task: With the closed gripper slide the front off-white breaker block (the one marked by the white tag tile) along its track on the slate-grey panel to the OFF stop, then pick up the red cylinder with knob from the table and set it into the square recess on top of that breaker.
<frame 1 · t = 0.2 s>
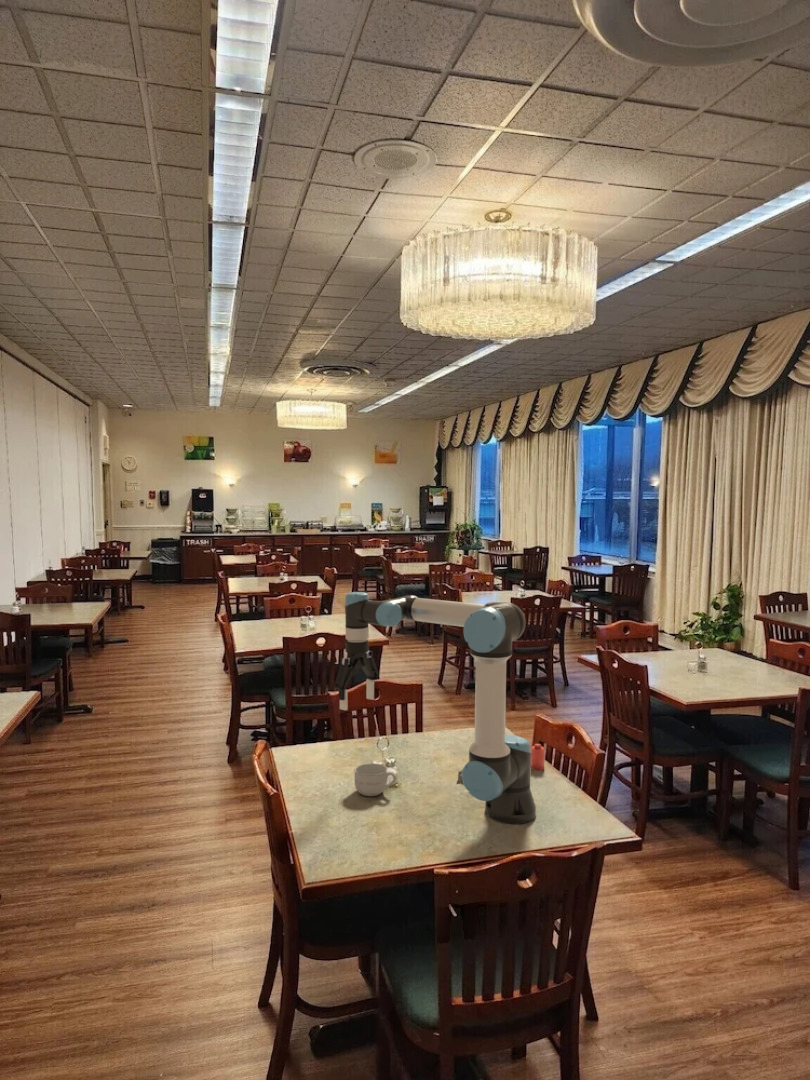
hand: (357, 704, 214), 28 cm above the table, fingers open, 13 cm apart
red cylinder with knob: (537, 767, 231), on the table
breaker 1: (505, 756, 227), point 5 cm above the table, slide at 0.0 cm
panel: (492, 775, 225), on the table
teacup: (375, 793, 211), on the table
breaker 2: (492, 766, 219), point 5 cm above the table, slide at 0.0 cm
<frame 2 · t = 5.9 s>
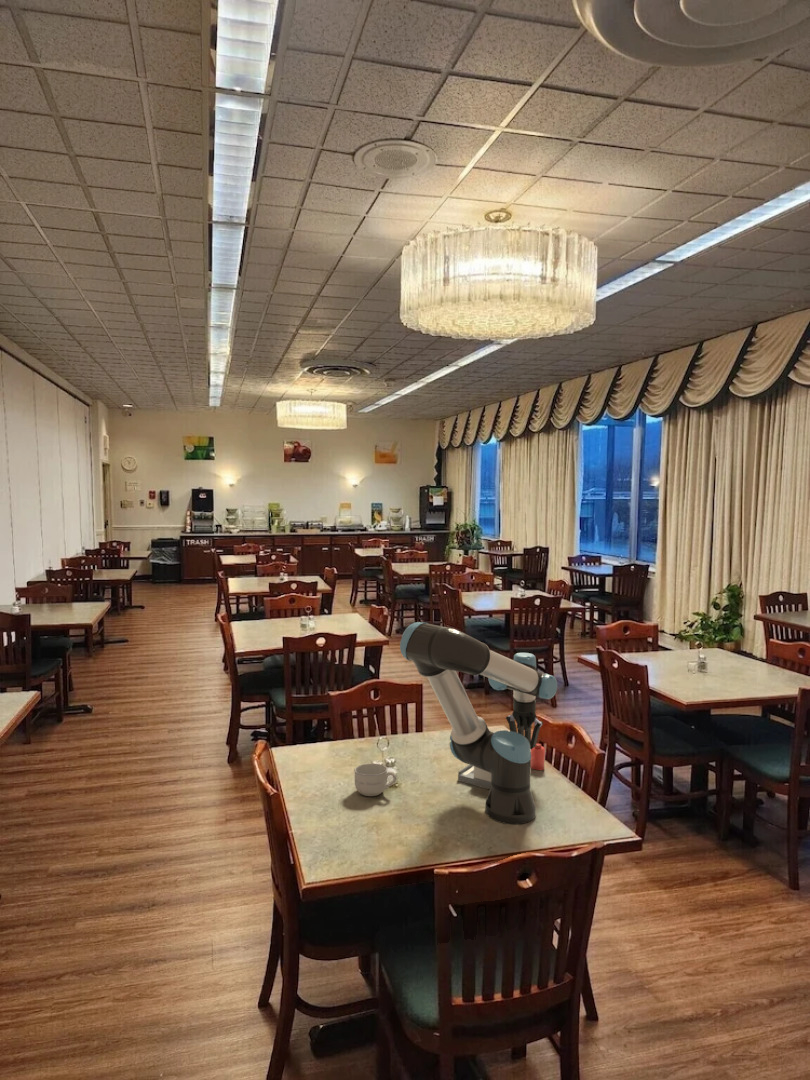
hand: (523, 766, 223), 3 cm above the table, fingers closed
breaker 1: (505, 756, 227), point 5 cm above the table, slide at 0.2 cm, touching gripper
everything else where it was.
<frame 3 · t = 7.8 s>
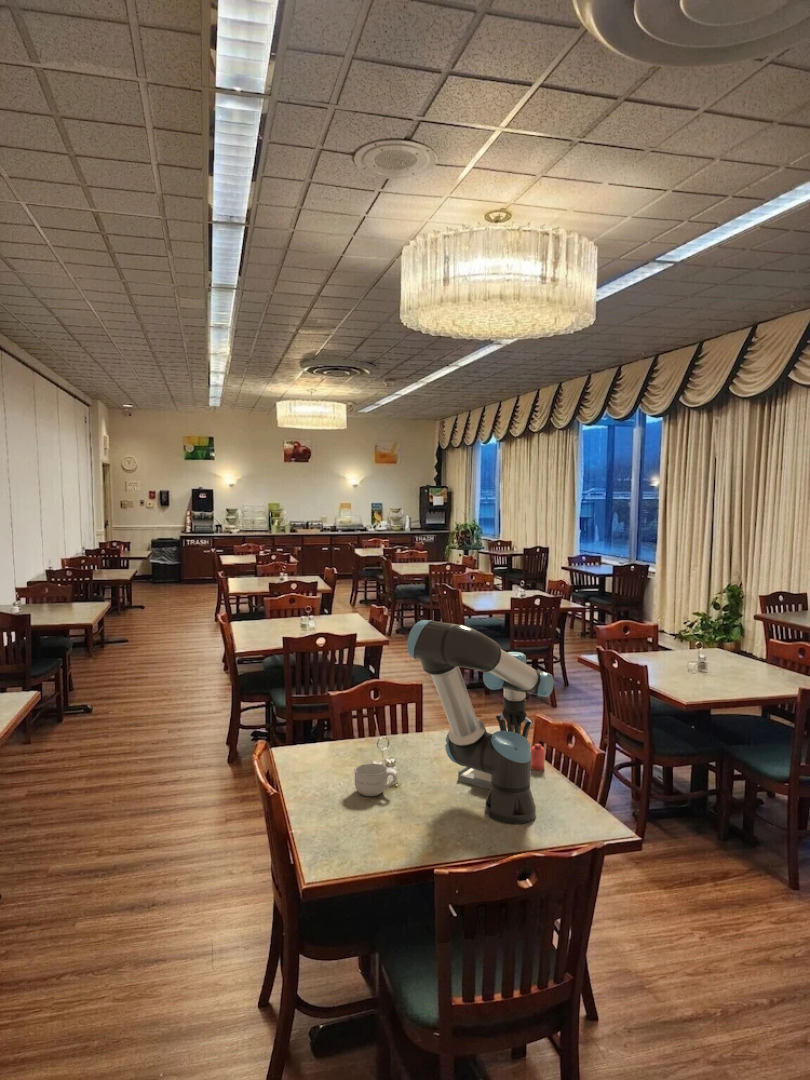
hand: (513, 765, 225), 3 cm above the table, fingers closed
breaker 1: (494, 754, 230), point 5 cm above the table, slide at 4.3 cm
everything else where it was.
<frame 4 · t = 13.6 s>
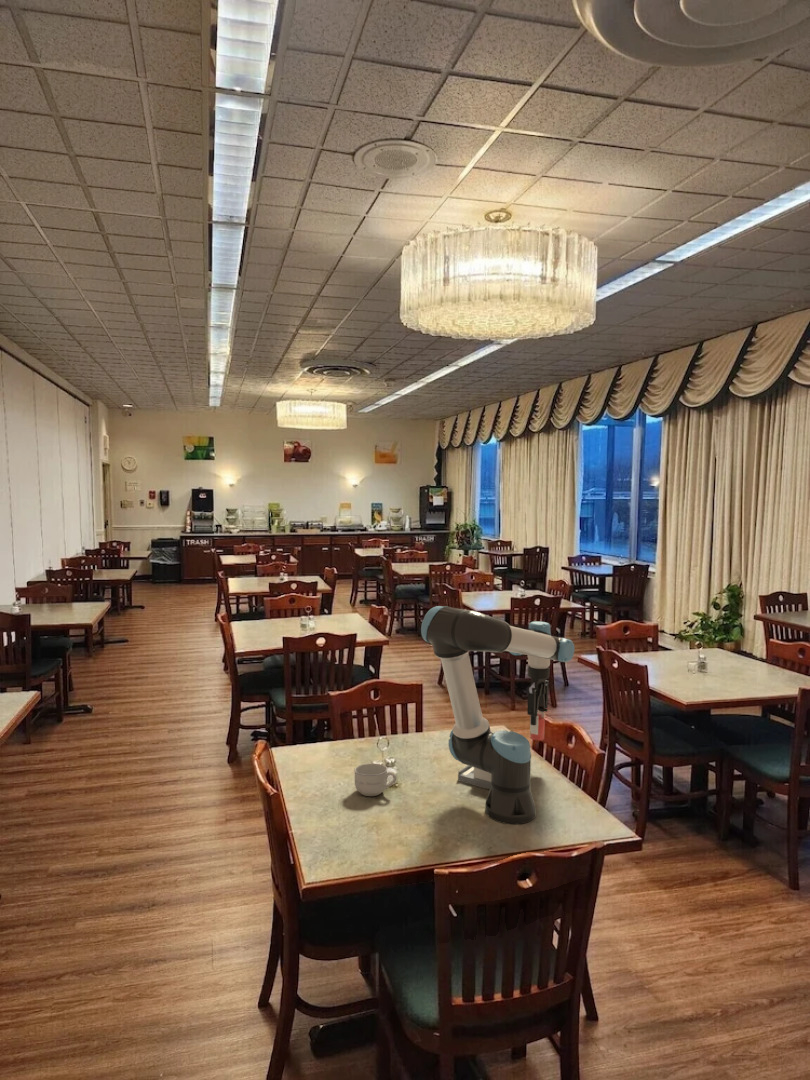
hand: (537, 731, 230), 13 cm above the table, fingers closed on red cylinder with knob, 5 cm apart
red cylinder with knob: (537, 738, 230), point 11 cm above the table, touching gripper
everything else where it was.
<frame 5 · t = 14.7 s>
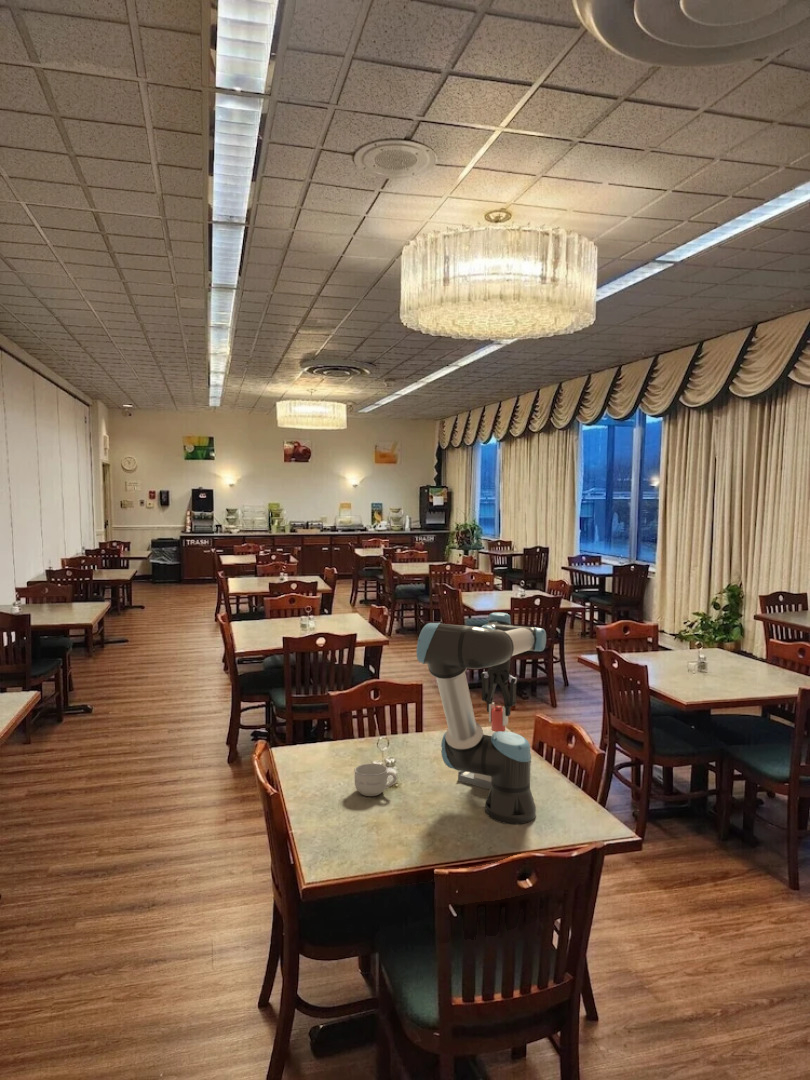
hand: (498, 722, 229), 17 cm above the table, fingers closed on red cylinder with knob, 5 cm apart
red cylinder with knob: (498, 729, 229), point 14 cm above the table, touching gripper
everything else where it was.
when the fingers open (10 cm above the table, at t = 16.3 s): red cylinder with knob drops 1 cm, resting on breaker 1.
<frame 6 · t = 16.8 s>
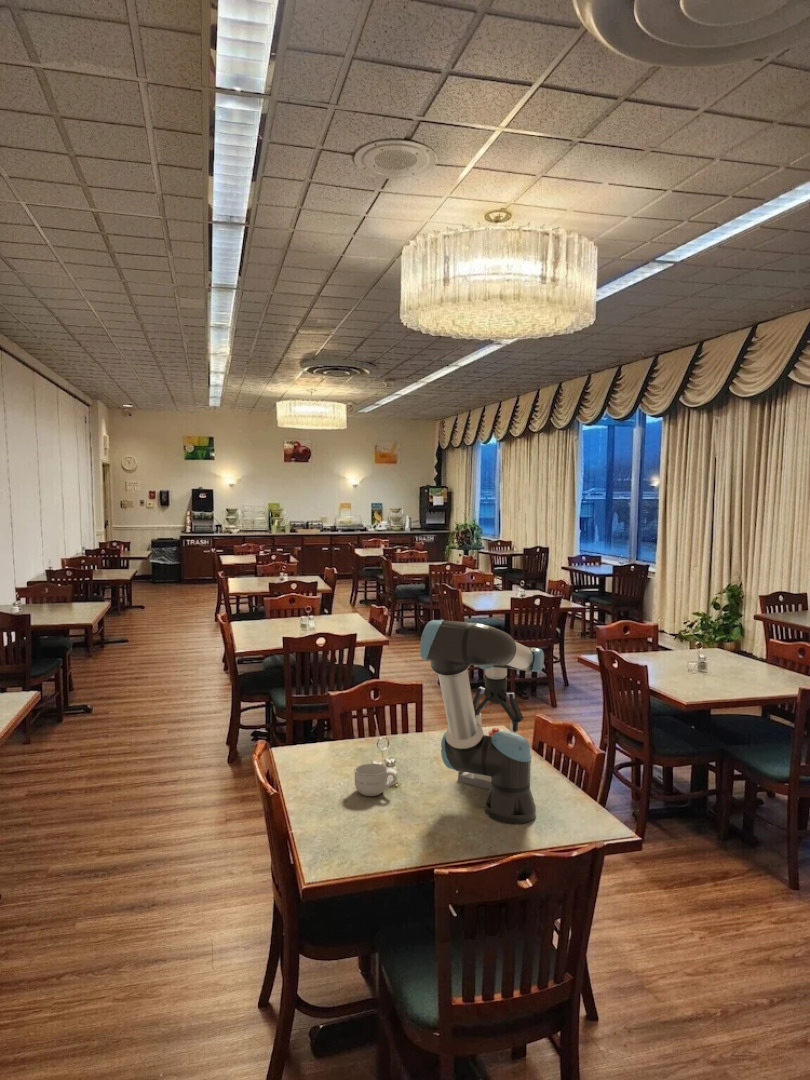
hand: (495, 736, 229), 12 cm above the table, fingers open, 13 cm apart
red cylinder with knob: (495, 752, 229), point 6 cm above the table, touching breaker 1
breaker 1: (494, 754, 230), point 5 cm above the table, slide at 4.3 cm, touching red cylinder with knob
everything else where it was.
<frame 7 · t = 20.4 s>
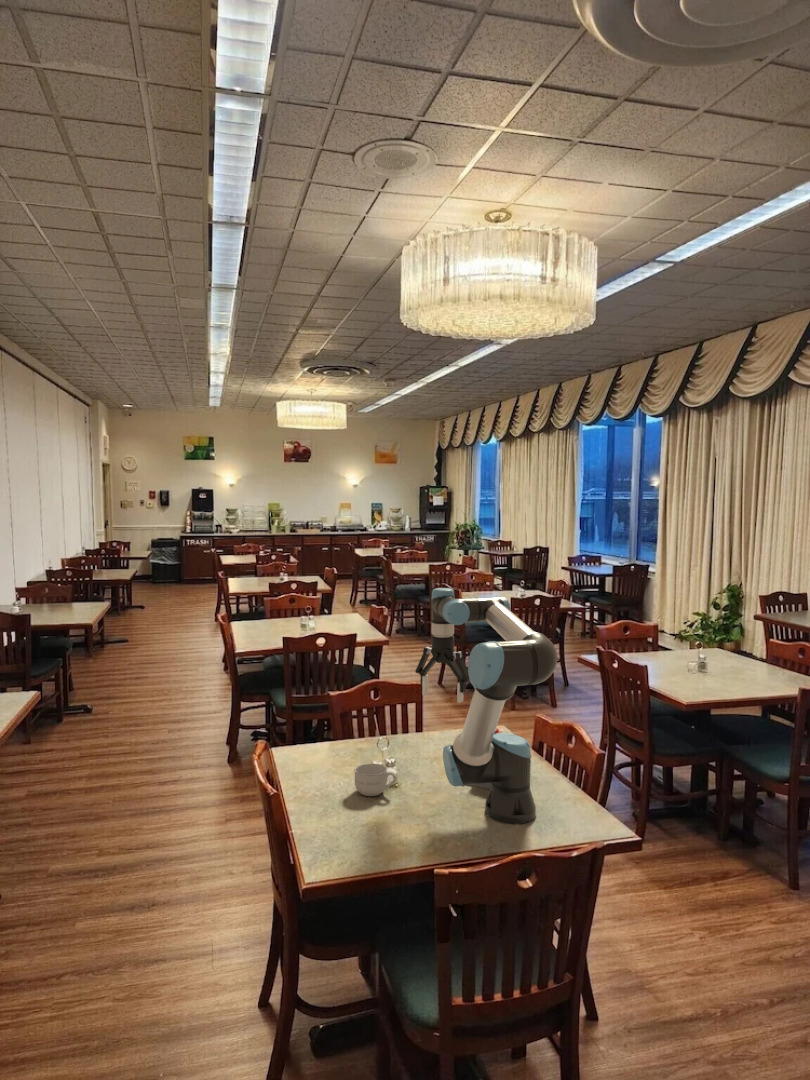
hand: (442, 698, 217), 29 cm above the table, fingers open, 13 cm apart
nothing on the table moved.
at the end: breaker 1 slide at 4.3 cm; red cylinder with knob 0.3 cm off-centre on the breaker 1, point 6.2 cm above the breaker 1's base; red cylinder with knob tilted 2° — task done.
